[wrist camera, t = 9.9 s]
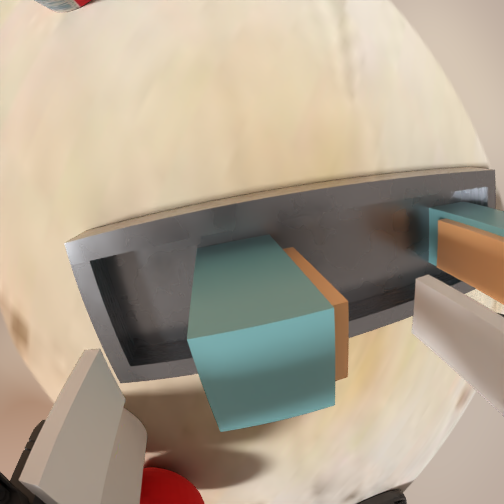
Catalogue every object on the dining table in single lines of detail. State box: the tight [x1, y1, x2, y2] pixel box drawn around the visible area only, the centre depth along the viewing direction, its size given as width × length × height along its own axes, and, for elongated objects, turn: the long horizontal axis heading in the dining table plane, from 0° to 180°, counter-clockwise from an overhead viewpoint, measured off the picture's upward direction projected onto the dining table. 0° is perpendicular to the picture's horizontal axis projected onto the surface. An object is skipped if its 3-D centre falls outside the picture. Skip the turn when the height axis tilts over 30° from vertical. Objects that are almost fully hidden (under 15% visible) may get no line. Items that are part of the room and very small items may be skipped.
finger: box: [187, 234, 349, 432], centre depth 12 cm, size 4×5×9 cm
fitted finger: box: [429, 201, 504, 305], centre depth 14 cm, size 4×5×9 cm
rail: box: [64, 167, 496, 383], centre depth 17 cm, size 9×28×3 cm, turn 99°
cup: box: [100, 408, 147, 504], centre depth 14 cm, size 8×8×12 cm
